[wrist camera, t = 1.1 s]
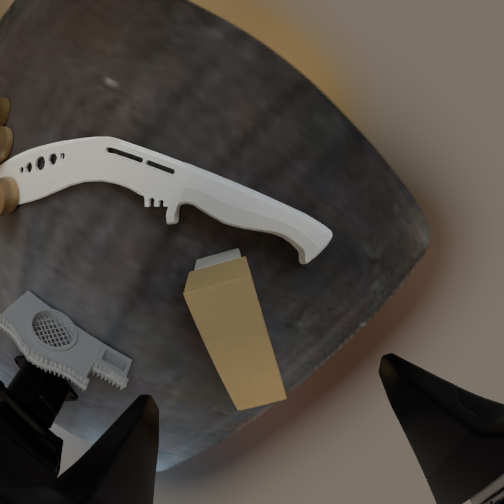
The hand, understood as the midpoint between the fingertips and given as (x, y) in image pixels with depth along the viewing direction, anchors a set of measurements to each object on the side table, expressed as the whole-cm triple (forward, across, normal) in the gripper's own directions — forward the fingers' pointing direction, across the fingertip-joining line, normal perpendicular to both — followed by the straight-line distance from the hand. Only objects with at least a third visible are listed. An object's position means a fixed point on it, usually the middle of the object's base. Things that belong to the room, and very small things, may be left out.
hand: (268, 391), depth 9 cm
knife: (+11, +9, -7) cm, 16 cm away
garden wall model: (+10, +16, +3) cm, 19 cm away
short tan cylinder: (+10, +18, -15) cm, 26 cm away
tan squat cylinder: (+10, +18, -10) cm, 23 cm away
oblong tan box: (+11, +1, +3) cm, 11 cm away
